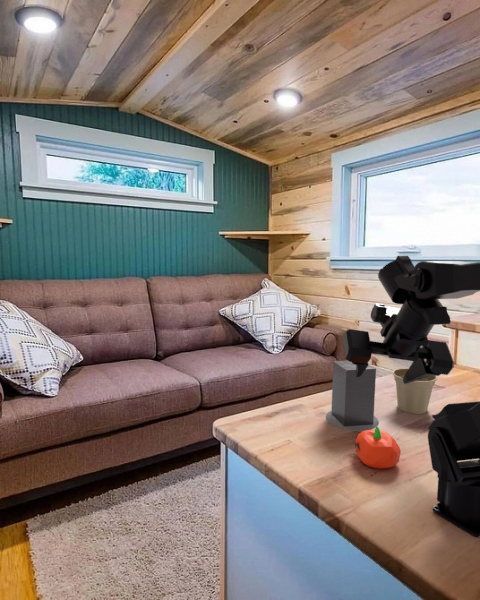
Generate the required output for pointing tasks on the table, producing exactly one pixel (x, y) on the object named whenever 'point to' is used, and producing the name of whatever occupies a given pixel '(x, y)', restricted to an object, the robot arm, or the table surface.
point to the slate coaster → (335, 422)
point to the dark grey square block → (353, 394)
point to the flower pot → (413, 392)
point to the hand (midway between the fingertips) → (380, 378)
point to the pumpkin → (377, 449)
